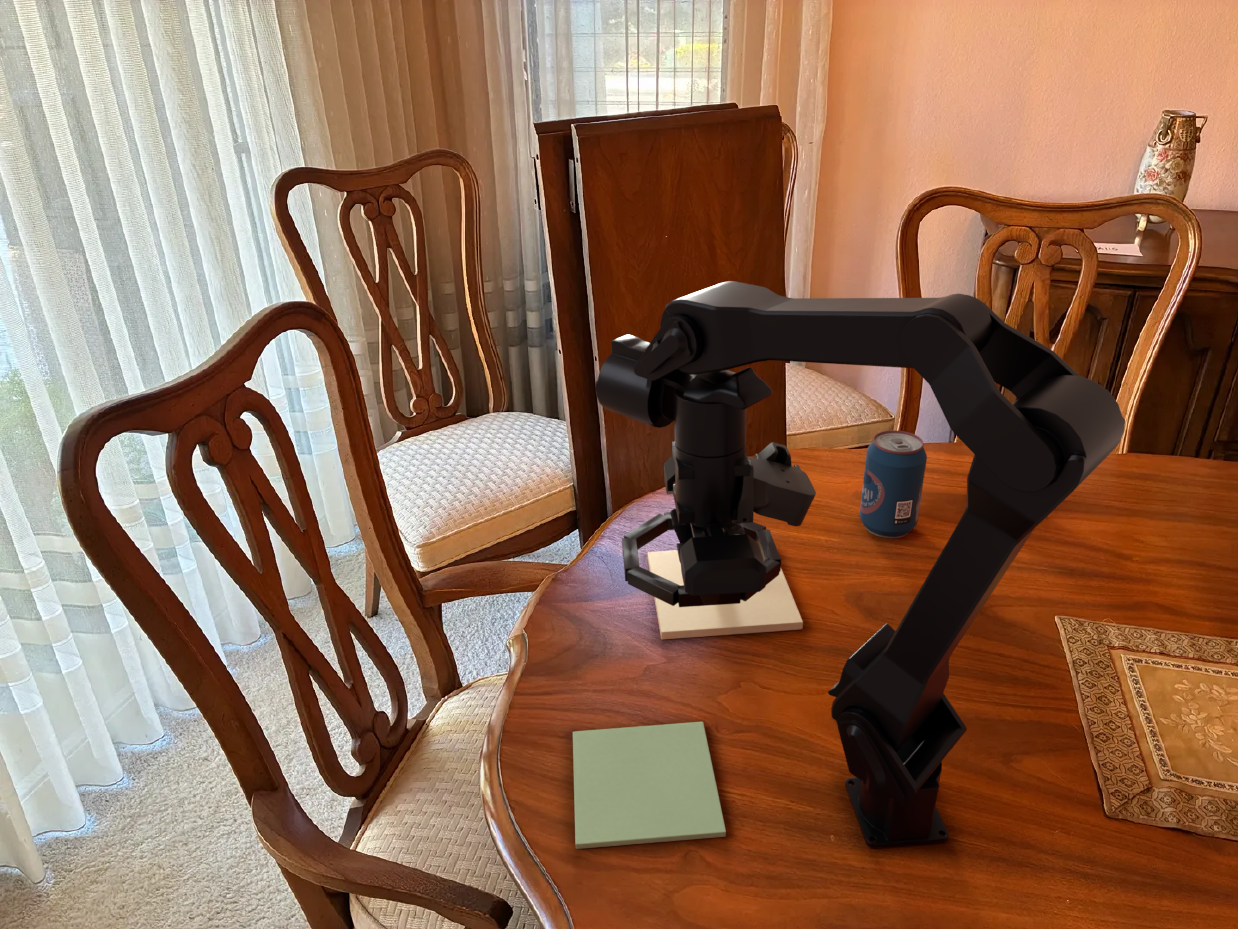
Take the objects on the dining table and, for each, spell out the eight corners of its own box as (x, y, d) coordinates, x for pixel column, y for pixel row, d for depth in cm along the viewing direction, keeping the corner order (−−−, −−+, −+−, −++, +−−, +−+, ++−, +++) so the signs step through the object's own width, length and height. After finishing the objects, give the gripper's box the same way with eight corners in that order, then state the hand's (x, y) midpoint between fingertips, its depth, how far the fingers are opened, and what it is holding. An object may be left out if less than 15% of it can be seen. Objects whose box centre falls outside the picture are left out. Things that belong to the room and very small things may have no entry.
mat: (726, 837, 68) (726, 832, 68) (575, 849, 68) (575, 844, 68) (703, 726, 79) (703, 721, 79) (573, 736, 78) (572, 731, 78)
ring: (791, 600, 76) (792, 587, 76) (627, 610, 76) (627, 597, 75) (760, 518, 89) (760, 506, 89) (620, 526, 89) (619, 514, 88)
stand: (802, 629, 90) (807, 572, 87) (661, 639, 90) (660, 583, 86) (770, 550, 104) (773, 498, 100) (647, 558, 103) (646, 506, 100)
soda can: (849, 515, 110) (858, 431, 104) (900, 508, 111) (912, 425, 105) (872, 544, 104) (883, 457, 98) (926, 537, 105) (940, 450, 99)
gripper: (840, 492, 61) (825, 662, 68) (784, 391, 78) (777, 536, 85) (685, 502, 61) (686, 671, 68) (661, 398, 77) (665, 543, 85)
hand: (709, 598), depth 76 cm, fingers closed on ring, 1 cm apart
